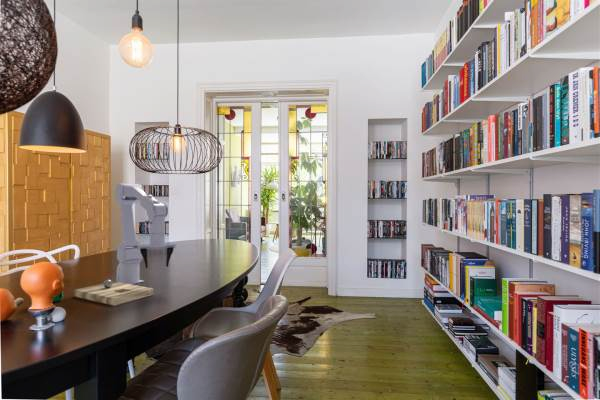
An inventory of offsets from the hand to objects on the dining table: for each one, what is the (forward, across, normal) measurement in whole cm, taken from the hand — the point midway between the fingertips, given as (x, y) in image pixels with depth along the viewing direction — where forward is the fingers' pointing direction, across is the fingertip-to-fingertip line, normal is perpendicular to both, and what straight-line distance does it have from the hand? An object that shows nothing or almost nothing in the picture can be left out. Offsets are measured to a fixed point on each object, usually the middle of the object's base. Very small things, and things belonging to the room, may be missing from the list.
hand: (157, 266), depth 143 cm
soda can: (+10, -34, -2) cm, 36 cm away
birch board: (+10, -15, -2) cm, 18 cm away
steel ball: (+6, -18, +1) cm, 18 cm away
